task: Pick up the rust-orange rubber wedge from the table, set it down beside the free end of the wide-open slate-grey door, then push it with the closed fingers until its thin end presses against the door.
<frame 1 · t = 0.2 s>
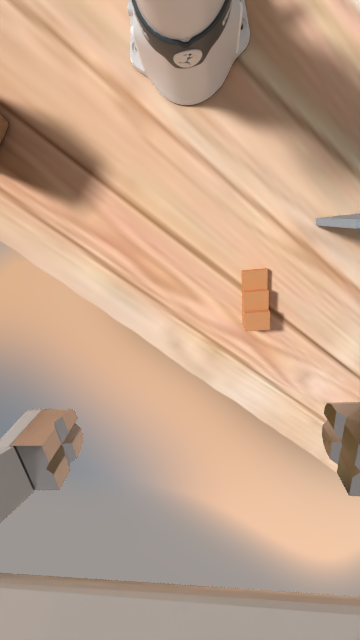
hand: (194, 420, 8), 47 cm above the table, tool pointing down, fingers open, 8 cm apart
wedge: (253, 297, 55), on the table
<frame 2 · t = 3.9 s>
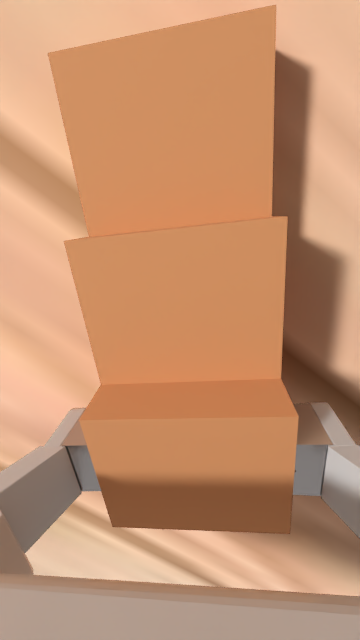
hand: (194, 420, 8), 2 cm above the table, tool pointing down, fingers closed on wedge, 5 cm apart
wedge: (186, 287, 9), on the table, touching gripper
when the fingers open (3 cm above the table, at t = 10.0 s): wedge drops 2 cm, on the table.
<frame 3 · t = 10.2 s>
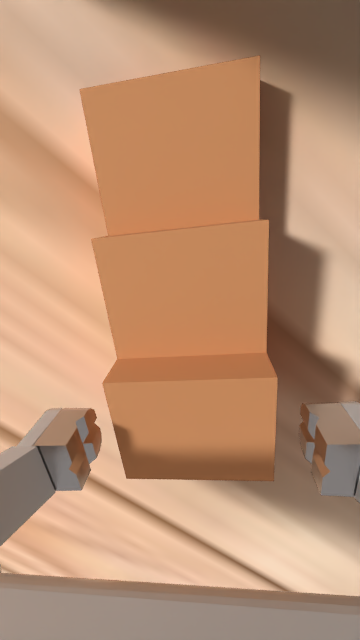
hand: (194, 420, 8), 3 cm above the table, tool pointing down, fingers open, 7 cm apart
wedge: (188, 279, 10), on the table
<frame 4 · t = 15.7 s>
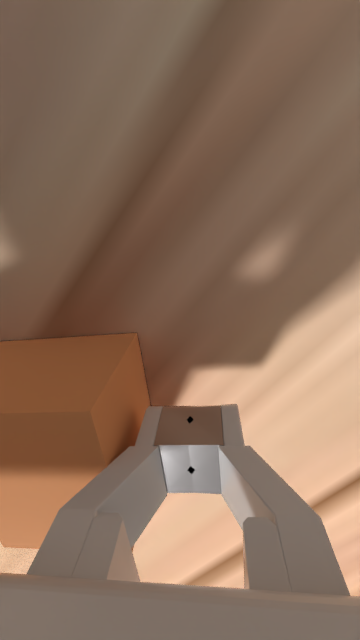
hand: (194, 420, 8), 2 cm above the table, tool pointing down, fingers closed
wedge: (8, 395, 11), on the table, touching gripper
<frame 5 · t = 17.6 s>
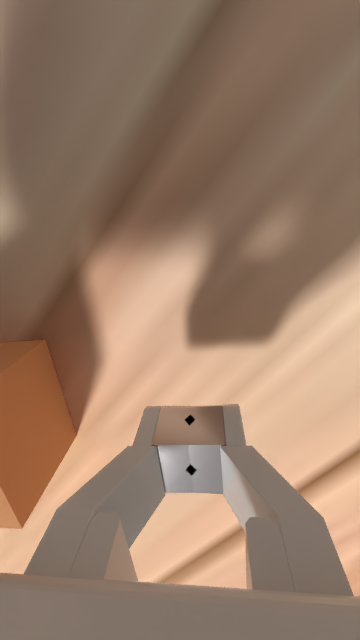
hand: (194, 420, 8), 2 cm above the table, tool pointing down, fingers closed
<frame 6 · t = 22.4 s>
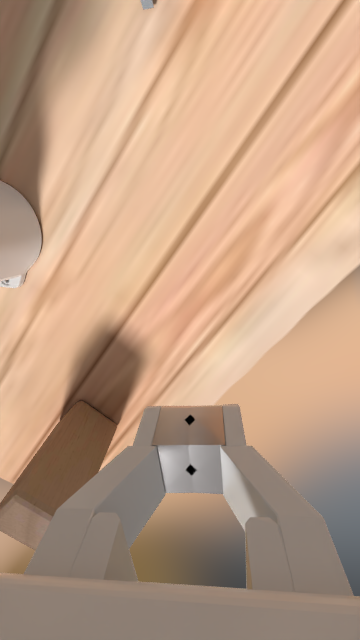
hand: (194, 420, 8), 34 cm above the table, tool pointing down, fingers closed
wooden block: (88, 423, 55), on the table
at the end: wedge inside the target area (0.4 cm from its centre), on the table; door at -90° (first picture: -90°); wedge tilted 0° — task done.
